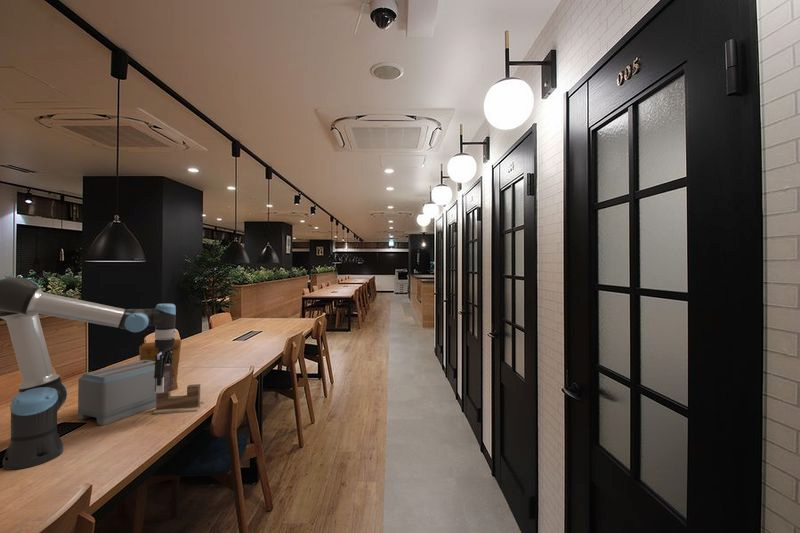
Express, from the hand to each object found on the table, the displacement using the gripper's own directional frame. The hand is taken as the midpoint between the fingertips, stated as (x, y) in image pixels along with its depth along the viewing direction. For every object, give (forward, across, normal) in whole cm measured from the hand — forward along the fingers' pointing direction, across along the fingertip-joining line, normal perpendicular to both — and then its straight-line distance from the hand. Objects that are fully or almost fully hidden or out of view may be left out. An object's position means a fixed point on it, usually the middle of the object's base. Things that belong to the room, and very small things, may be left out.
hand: (163, 389), depth 161 cm
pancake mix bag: (+14, +41, +15) cm, 46 cm away
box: (+1, 0, 0) cm, 1 cm away
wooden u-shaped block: (+13, +12, -3) cm, 18 cm away
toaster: (+14, +17, +20) cm, 30 cm away
